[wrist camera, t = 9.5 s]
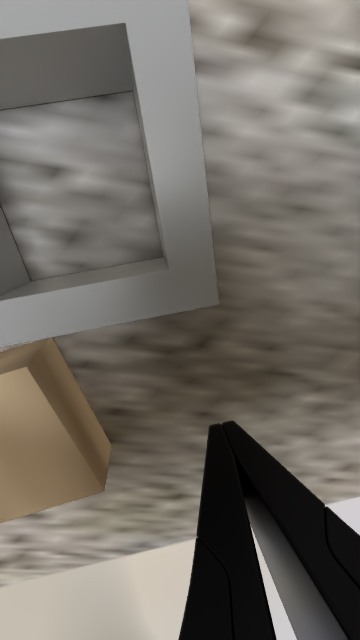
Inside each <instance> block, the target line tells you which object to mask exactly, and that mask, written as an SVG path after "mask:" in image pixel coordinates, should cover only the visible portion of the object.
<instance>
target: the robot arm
mask: <svg viewBox="0 0 360 640" xmlns="http://www.w3.org/2000/svg"><path fill="white" fill-rule="evenodd" d="M250 524H251V526H250ZM251 527H252V529H253V532H254V534H255V537H256V539H257V542H258V544H259V547H260V549H261V551H262V554H263V556H264V559H265V561H266V564H267V566H268V569H269V571H270V574H271V576H272V579H273V581H274V584H275V586H276V589H277V591H278V594H279V596H280V599H281V601H282V603H283V606H284V608H285V611H286V613H287V616H288V618H289V621H290V623H291V626H292V628H293V631H294V633H295V636H296V638H297V640H360V535H359V534H357V533H356V532H355V531H354V530H353V529H352V528H350V527H349V526H348V525H347V524H346V523H345V522H344V521H342V520H341V519H340V518H339V517H338V516H337V515H336V514H335V513H334V512H333V511H332V510H331V509H330V508H328V507H325V504H324V503H323V502H322V501H321V500H320V499H318V498H317V497H316V496H315V495H314V494H313V493H312V492H311V491H310V490H309V489H308V488H306V487H305V486H304V485H303V484H302V483H301V482H300V481H299V480H298V479H297V478H296V477H294V476H293V475H292V474H291V473H290V472H289V471H288V470H287V469H286V468H285V467H284V466H282V465H281V464H280V463H279V462H278V461H277V460H276V459H275V458H274V457H273V456H272V455H270V454H269V453H268V452H267V451H266V450H265V449H264V448H263V447H262V446H261V445H260V444H258V443H257V442H256V441H255V440H254V439H253V438H252V437H251V436H250V435H249V434H248V433H246V432H245V431H244V430H243V429H242V428H241V427H240V426H239V425H238V424H237V423H236V422H234V421H227V422H223V423H222V425H221V424H220V423H218V424H214V425H210V426H209V431H208V440H207V449H206V457H205V466H204V475H203V483H202V492H201V500H200V509H199V518H198V526H197V535H196V536H197V538H196V543H195V551H194V559H193V566H192V573H191V579H190V586H189V591H188V596H187V601H186V606H185V612H184V617H183V621H182V626H181V631H180V635H179V640H276V635H275V631H274V627H273V622H272V618H271V613H270V609H269V605H268V600H267V596H266V592H265V587H264V583H263V578H262V574H261V570H260V565H259V561H258V557H257V552H256V548H255V544H254V539H253V535H252V530H251Z"/></svg>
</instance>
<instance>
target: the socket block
mask: <svg viewBox="0 0 360 640" xmlns="http://www.w3.org/2000/svg"><path fill="white" fill-rule="evenodd" d="M126 91H133V93H134V98H135V104H136V109H137V115H138V120H139V126H140V131H141V137H142V142H143V148H144V153H145V159H146V164H147V169H148V175H149V180H150V186H151V191H152V197H153V202H154V208H155V213H156V219H157V224H158V230H159V235H160V241H161V246H162V252H163V257H161V258H156V259H150V260H145V261H139V262H134V263H128V264H123V265H117V266H112V267H106V268H101V269H95V270H90V271H84V272H79V273H73V274H68V275H62V276H57V277H51V278H46V279H40V280H35V281H30V278H29V276H28V273H27V271H26V268H25V266H24V263H23V261H22V258H21V256H20V253H19V251H18V248H17V246H16V243H15V241H14V238H13V236H12V234H11V231H10V229H9V226H8V224H7V221H6V219H5V216H4V214H3V211H2V209H1V206H0V347H4V346H9V345H14V344H19V343H24V342H30V341H35V340H40V339H45V338H50V337H55V336H60V335H65V334H71V333H76V332H81V331H86V330H91V329H96V328H101V327H107V326H112V325H117V324H122V323H127V322H132V321H137V320H142V319H148V318H153V317H158V316H163V315H168V314H173V313H178V312H184V311H189V310H194V309H199V308H204V307H209V306H214V305H219V297H218V287H217V278H216V268H215V258H214V249H213V239H212V230H211V220H210V210H209V201H208V191H207V182H206V172H205V162H204V153H203V143H202V133H201V124H200V114H199V105H198V95H197V85H196V76H195V66H194V57H193V47H192V37H191V28H190V18H189V8H188V0H0V110H2V109H9V108H16V107H23V106H30V105H37V104H43V103H50V102H57V101H64V100H71V99H78V98H85V97H92V96H98V95H105V94H112V93H119V92H126Z"/></svg>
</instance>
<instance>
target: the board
mask: <svg viewBox="0 0 360 640" xmlns="http://www.w3.org/2000/svg"><path fill="white" fill-rule="evenodd" d="M111 448H112V445H111V444H110V442H109V440H108V438H107V436H106V434H105V433H104V431H103V429H102V427H101V425H100V424H99V422H98V420H97V418H96V416H95V414H94V413H93V411H92V409H91V407H90V405H89V403H88V402H87V400H86V398H85V396H84V394H83V393H82V391H81V389H80V387H79V385H78V383H77V382H76V380H75V378H74V376H73V374H72V372H71V371H70V369H69V367H68V365H67V363H66V362H65V360H64V358H63V356H62V354H61V352H60V351H59V349H58V347H57V345H56V343H55V342H54V340H53V338H52V337H50V338H46V339H43V340H40V341H37V342H33V343H30V344H27V345H24V346H20V347H17V348H14V349H11V350H7V351H4V352H1V353H0V523H3V522H6V521H10V520H13V519H16V518H19V517H22V516H26V515H29V514H32V513H35V512H38V511H42V510H45V509H48V508H51V507H55V506H58V505H61V504H64V503H67V502H71V501H74V500H77V499H80V498H83V497H87V496H90V495H93V494H96V493H100V492H103V491H104V490H105V484H106V478H107V472H108V466H109V460H110V454H111Z"/></svg>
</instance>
